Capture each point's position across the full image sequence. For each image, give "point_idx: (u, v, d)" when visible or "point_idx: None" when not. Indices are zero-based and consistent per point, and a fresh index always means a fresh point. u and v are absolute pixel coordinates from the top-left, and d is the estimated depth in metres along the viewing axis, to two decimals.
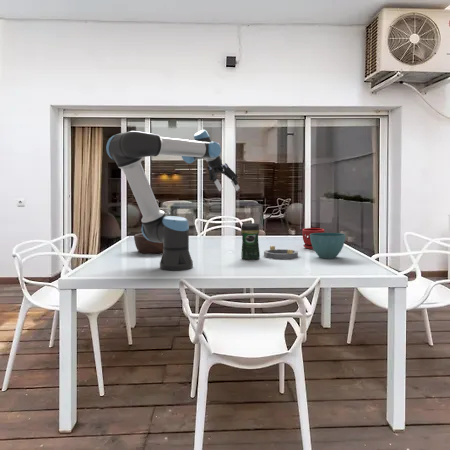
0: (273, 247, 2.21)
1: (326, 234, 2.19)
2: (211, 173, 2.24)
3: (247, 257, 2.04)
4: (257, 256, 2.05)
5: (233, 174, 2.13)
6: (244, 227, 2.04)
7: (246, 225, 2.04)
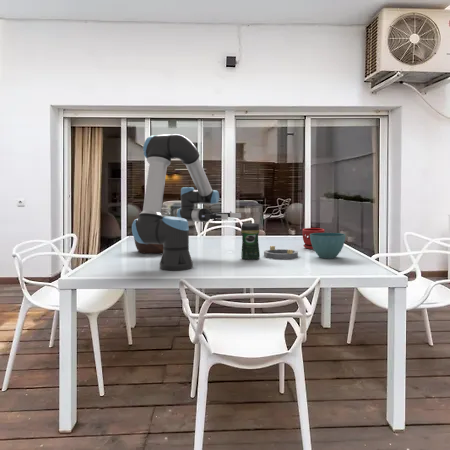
0: (273, 247, 2.21)
1: (326, 234, 2.19)
2: None
3: (247, 257, 2.04)
4: (257, 256, 2.05)
5: None
6: (244, 227, 2.04)
7: (246, 225, 2.04)
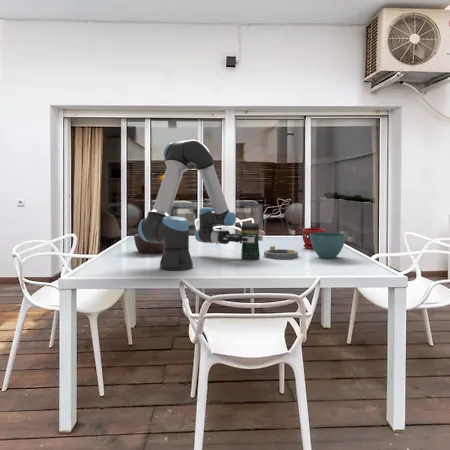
0: (273, 247, 2.21)
1: (326, 234, 2.19)
2: None
3: (247, 257, 2.04)
4: (257, 256, 2.05)
5: None
6: (244, 227, 2.04)
7: (246, 225, 2.04)
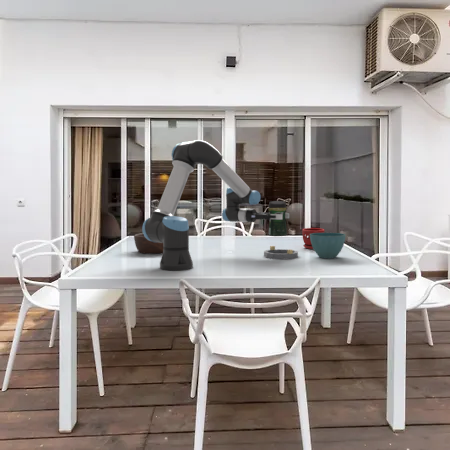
0: (273, 247, 2.21)
1: (326, 234, 2.19)
2: None
3: (275, 234, 2.11)
4: (285, 233, 2.11)
5: None
6: (272, 205, 2.10)
7: (274, 203, 2.10)
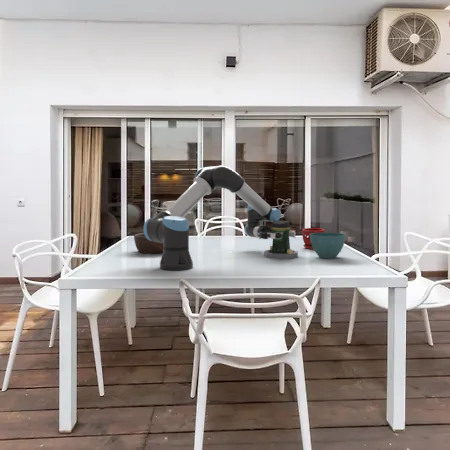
0: None
1: (326, 234, 2.19)
2: None
3: None
4: (284, 253, 2.11)
5: None
6: (273, 224, 2.13)
7: (275, 222, 2.13)
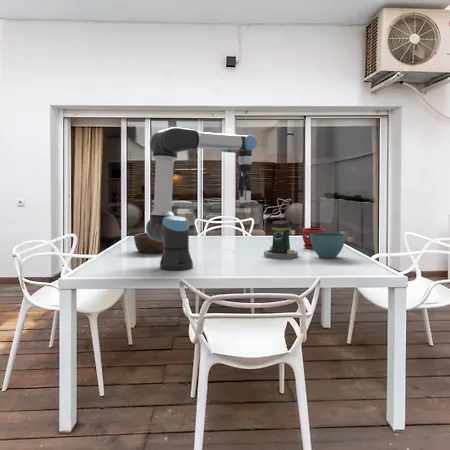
0: None
1: (326, 234, 2.19)
2: None
3: None
4: (284, 253, 2.11)
5: (240, 184, 2.15)
6: (273, 224, 2.13)
7: (275, 222, 2.13)
